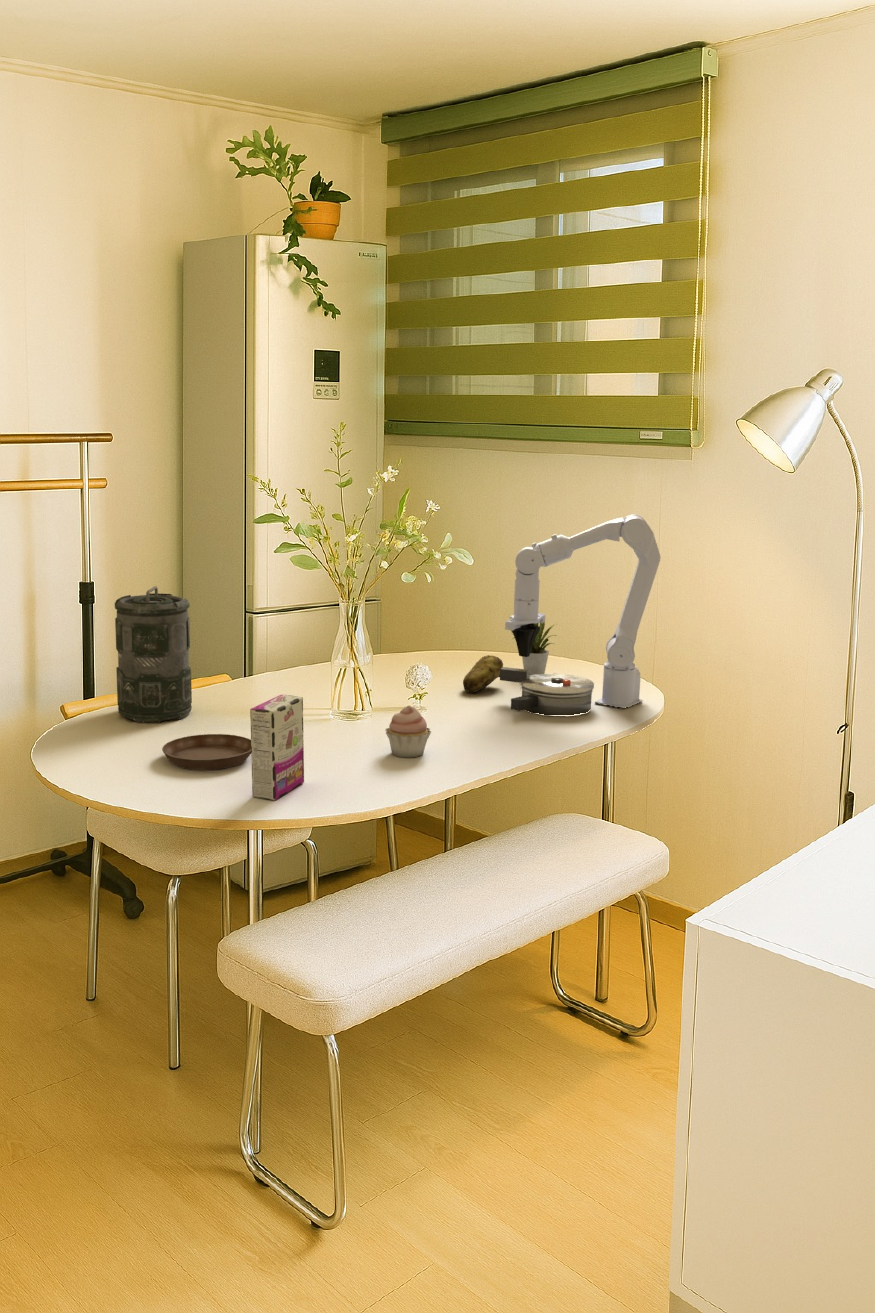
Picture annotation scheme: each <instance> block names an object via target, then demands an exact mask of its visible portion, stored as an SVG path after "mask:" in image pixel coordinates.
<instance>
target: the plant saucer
mask: <svg viewBox="0 0 875 1313" xmlns="http://www.w3.org/2000/svg"><path fill="white" fill-rule="evenodd" d="M161 750H162V752H163V754H164V756H165V757H166V758H167V759H168V761H170V762H171V763H172V764H174V765H175V766H177V767H179V768H181V769H186V770H193V771H195V770H196V771H215V770H223V769H228V768H232V767H236V766H239V765H241V764H242V763H244V762H245V761H246V760H247V759H248V758H249V757H250V756H251V755H252V753H251V738H247V737H245V736H240V735H237V734H236V735H235V734H224V733H207V734H205V733H204V734H196V735H188V736H184V737H179V738H175V739H172V740H170V741H168V742H167V743H165V744H163V746H162V748H161Z"/></svg>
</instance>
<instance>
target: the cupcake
mask: <svg viewBox="0 0 875 1313" xmlns="http://www.w3.org/2000/svg"><path fill="white" fill-rule="evenodd" d="M388 725H389V727H387V728H385V734H386V736H387V738H388V741H389V745H390V752H391V753H392V754H393V756H396V757H400V758H405V759H408V758H418V757H420V756H422V755H423V754H424V753H425V749H426V745H427V742H428V739H429V737H430V735H431V733H432V731H431V728H430V727H428V725H427V722H426V719H425V718H424V717H423V716H422V714H421V712H419V710H418V709H416V707H414V706H411V705H407V706H404V708H402V709H401V710H400V712H397V713H394V714H393V715H392V717H391V721H390V723H389V724H388Z"/></svg>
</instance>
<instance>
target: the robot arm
mask: <svg viewBox="0 0 875 1313" xmlns="http://www.w3.org/2000/svg"><path fill="white" fill-rule="evenodd" d="M620 537H621V538H622V540H623V542H625V543H626V544H627V546H629V547H630V548H631V549H632V550H633V553H634V554H635V555H636V557H637V559H638V561H637V564H636V567H635V571H634V574H633V577H632V579H631V582H630V583H631V584H630V587H629V590H628V592H627V596H626V599H625V602H624V606H623V608H622V612H621V614H620V618H619V621H618V624H617V626H616V627H615V630H614V633H613V635H612V636H611V638H609V639H608V641H607V643H606V647H605V650H606V655H607V656H606V658H607V660H606V662H604V663H603V677H602V678H603V679H602V693H601V694H602V696H601V698H600V699H597V700H595V701H594V704H596V703H600V704H599V705H601V704H606V705H605V706H607V705H610V706H609V707H612V706H615V707H614V708H617V707H622V708H625V707H628V708H630V707H632V705H633V706H635V705H638V704H640V703H642V702H644V699H641V698H640V692H641V691H640V690H641V678H642V677H641V672H640V670H639V668H638V667H637V666H636V664H635V663H634V662H635V657H636V654H635V645H636V642H637V637H638V632H639V628H640V624H641V622H642V618H643V615H644V612H645V609H646V605H647V602H648V599H649V596H650V593H651V590H652V587H653V583H654V581H655V578H656V575H657V572H658V568H659V565H660V562H661V554H660V551H659V550H660V549H659V547H658V543H657V540H656V537H655V534H654V531H653V529H651V526H650V525H649V524H648V523H647V521H646V520H645V519H644V517H642V516H641V515H638V514H629V515H627V516H624V517H618V518H614V519H611V520H608V521H606V522H603V523H600V524H598V525H596V526H593V527H591V528H589V529H586V530H584V531H581V532H578V533H576V534H575V535H572V536H570V537H569V536H566V535H564V534H559V535H557V533H555V534H552V535H550V538H548V539H547V540H546V539H545V540H544V541H541V542H538V543H537V542H533V543H532V544H531V546H525V547H523V548H521V549H520V550H519V551H518V552H517V554H516V557H515V561H514V562H515V566H516V571H515V577H516V578H515V579H514V596H513V598H514V599H513V600H514V602H513V614H512V615H510V616H509V620H506V621H505V624H504V625H505V626H504V627H505V628H504V629H505V630H507V631H511V634H512V635H513V636H514V637H515V638H514V637H513V638H514V640H515V643H516V648H517V651H518V652H517V653H518V656H519V657H521V658H522V657H529V655H530V652H531V649H532V645H533V642H534V640H535V637H536V635H537V634H538V632H539V631H540V625H538V626H534V625H535V624H536V623H539V624H540V622H542V623H543V622H545V623H546V614H545V613H541V612H540V613H539V602H540V578H539V574H540V573H539V572H540V568H541V567H543V568H547V567H550V566H551V565H554V564H557V563H560V562H562V561H565V560H567V559H570V558H571V557H572V555H573V553H574V551H577V550H580V549H582V548H584V547H588V546H590V545H593V544H597V543H599V542H600V543H601V542H603V541H605V540H607V541H608V540H609V541H613V542H620V541H621V540H620ZM639 702H640V703H639ZM637 703H638V704H637ZM622 708H621V709H622Z"/></svg>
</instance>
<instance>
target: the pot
mask: <svg viewBox="0 0 875 1313" xmlns="http://www.w3.org/2000/svg"><path fill="white" fill-rule="evenodd" d="M593 691H594V689H593V690H591V691H589V692H585V693H580V694H547V693H540V692H535V691H531V690H528V689H525V688H524V687H522V686H521V696H517V697H512V698H510V709H511V710H513V711H517V712H522V711H525V710H526V711H525V712H527V711H529V712H528V713H530V712H531V714H533V713H539V714H544V715H574V714H580V713H586V712H588V711H589V710H590V709H591V710H592V697H593V696H592V694H593Z"/></svg>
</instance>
